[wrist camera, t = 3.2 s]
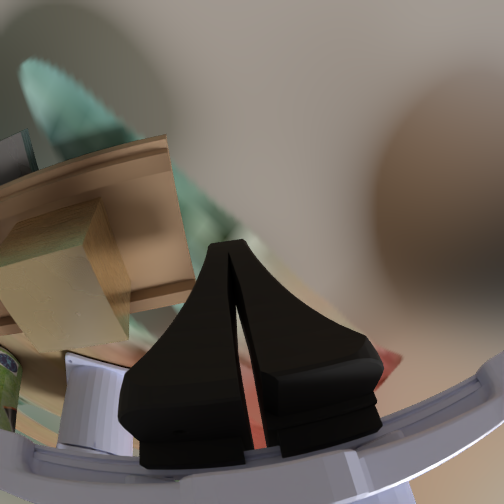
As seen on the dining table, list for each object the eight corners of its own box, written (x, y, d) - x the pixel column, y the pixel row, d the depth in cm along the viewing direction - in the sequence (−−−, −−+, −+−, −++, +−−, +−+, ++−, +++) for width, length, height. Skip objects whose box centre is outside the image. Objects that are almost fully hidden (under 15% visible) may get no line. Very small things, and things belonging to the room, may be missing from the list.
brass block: (54, 297, 14) (39, 353, 11) (16, 222, 11) (-17, 272, 8) (131, 281, 15) (128, 339, 12) (101, 196, 12) (82, 244, 9)
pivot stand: (18, 307, 19) (6, 333, 16) (-48, 167, 11) (-73, 185, 9) (92, 300, 20) (83, 330, 17) (27, 128, 12) (-1, 143, 9)
